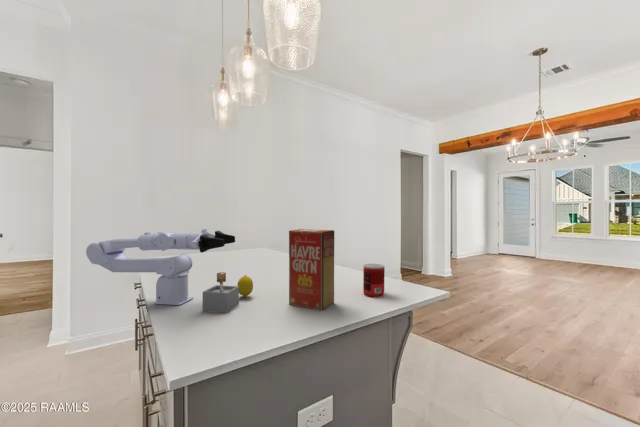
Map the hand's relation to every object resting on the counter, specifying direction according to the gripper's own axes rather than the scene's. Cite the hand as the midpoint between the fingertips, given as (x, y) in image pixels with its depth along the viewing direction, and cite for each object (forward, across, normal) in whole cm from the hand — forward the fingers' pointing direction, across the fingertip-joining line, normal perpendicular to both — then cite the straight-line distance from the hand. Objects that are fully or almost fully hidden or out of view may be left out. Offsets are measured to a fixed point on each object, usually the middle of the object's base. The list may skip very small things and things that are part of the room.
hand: (229, 241), depth 98 cm
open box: (-2, -4, +21) cm, 21 cm away
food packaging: (+26, +5, +22) cm, 35 cm away
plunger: (-2, -4, +17) cm, 17 cm away
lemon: (+1, +8, +22) cm, 23 cm away
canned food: (+47, +20, +24) cm, 56 cm away
